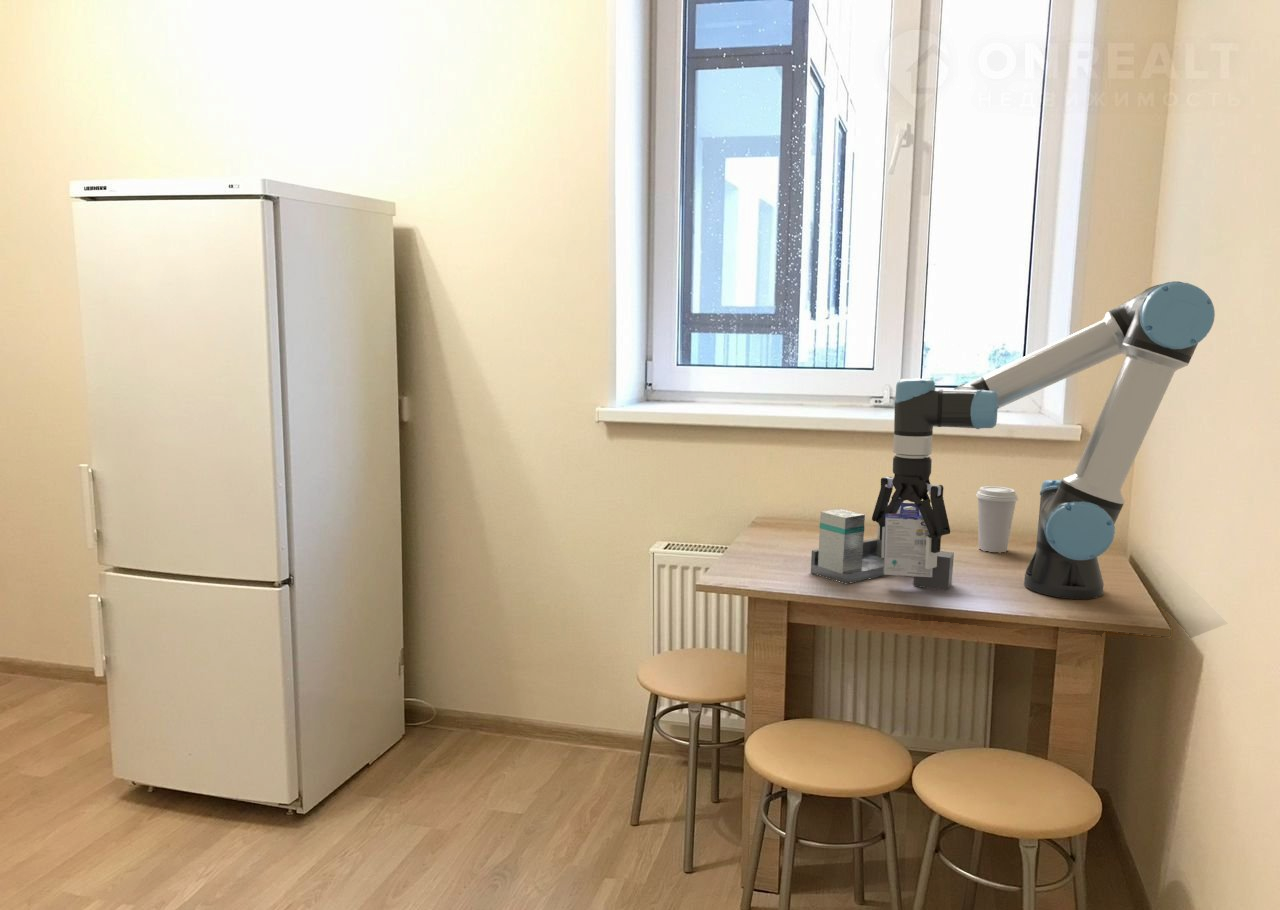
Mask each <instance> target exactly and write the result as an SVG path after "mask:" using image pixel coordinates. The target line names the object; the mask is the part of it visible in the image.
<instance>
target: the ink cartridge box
mask: <svg viewBox="0 0 1280 910" xmlns="http://www.w3.org/2000/svg"><path fill="white" fill-rule="evenodd" d="M907 506H912V507H915V508H916V510H904V509H903V508H904V507H907ZM929 535H930V534H929V531H928V529H927V527H926V524H925V522H924V520H923V517H922V515H921V514H919V508H918V507H917V506H916V505H915V503H914V502H908V503H901V510H900V514H888V513H886V515H885V534H884V571H883V574H884V576H897V577H898V576H901V577H914V576H915V577H932V573H933V568H931V569H926V568H925V558H926V537H927V536H929Z"/></svg>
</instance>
